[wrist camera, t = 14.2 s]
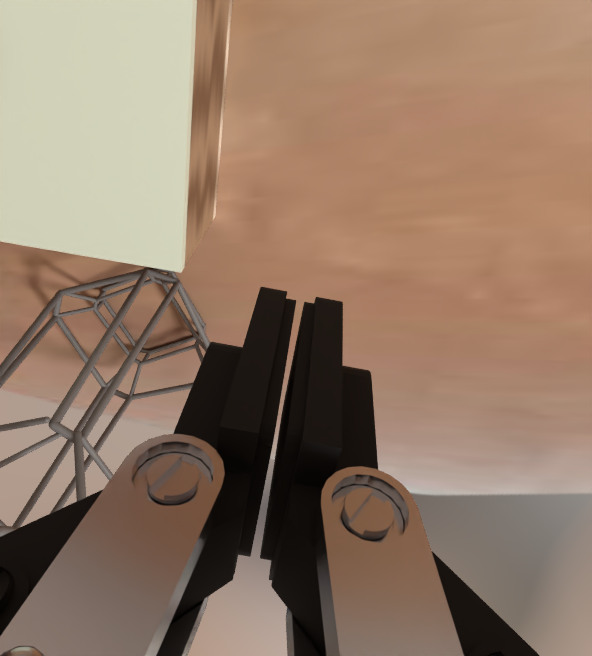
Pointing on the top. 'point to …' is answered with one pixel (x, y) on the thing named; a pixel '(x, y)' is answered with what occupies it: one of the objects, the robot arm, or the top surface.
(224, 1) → the walnut box
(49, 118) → the lid
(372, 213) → the top surface
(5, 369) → the geometric lantern
